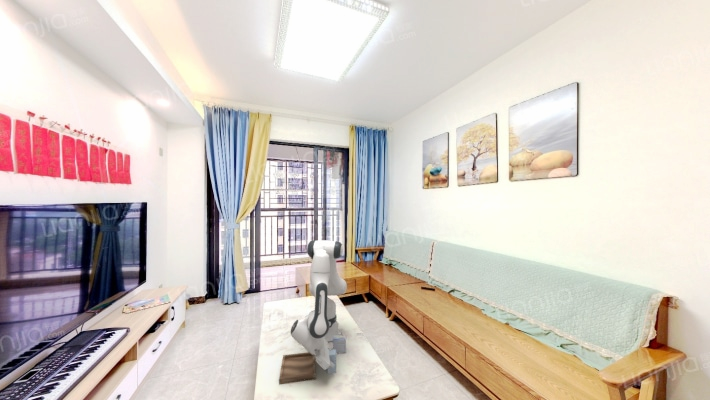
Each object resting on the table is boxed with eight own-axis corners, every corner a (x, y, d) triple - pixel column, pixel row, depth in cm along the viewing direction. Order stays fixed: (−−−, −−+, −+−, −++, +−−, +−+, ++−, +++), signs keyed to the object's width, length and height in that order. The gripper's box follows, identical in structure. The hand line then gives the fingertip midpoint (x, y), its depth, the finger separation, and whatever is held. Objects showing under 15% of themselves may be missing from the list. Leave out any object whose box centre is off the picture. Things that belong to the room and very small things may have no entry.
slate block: (327, 367, 130) (327, 350, 130) (335, 366, 131) (335, 349, 130) (327, 373, 125) (328, 355, 125) (336, 372, 126) (336, 354, 126)
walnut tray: (283, 359, 136) (283, 355, 136) (314, 356, 139) (314, 351, 139) (279, 384, 118) (279, 379, 118) (315, 379, 121) (315, 374, 121)
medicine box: (345, 348, 146) (345, 335, 146) (345, 353, 142) (345, 339, 142) (333, 348, 146) (333, 335, 146) (332, 353, 141) (332, 339, 141)
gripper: (319, 352, 116) (339, 369, 118) (318, 329, 136) (335, 344, 138) (310, 362, 115) (330, 379, 117) (310, 337, 135) (327, 352, 137)
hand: (332, 360), depth 128 cm, fingers open, 7 cm apart
